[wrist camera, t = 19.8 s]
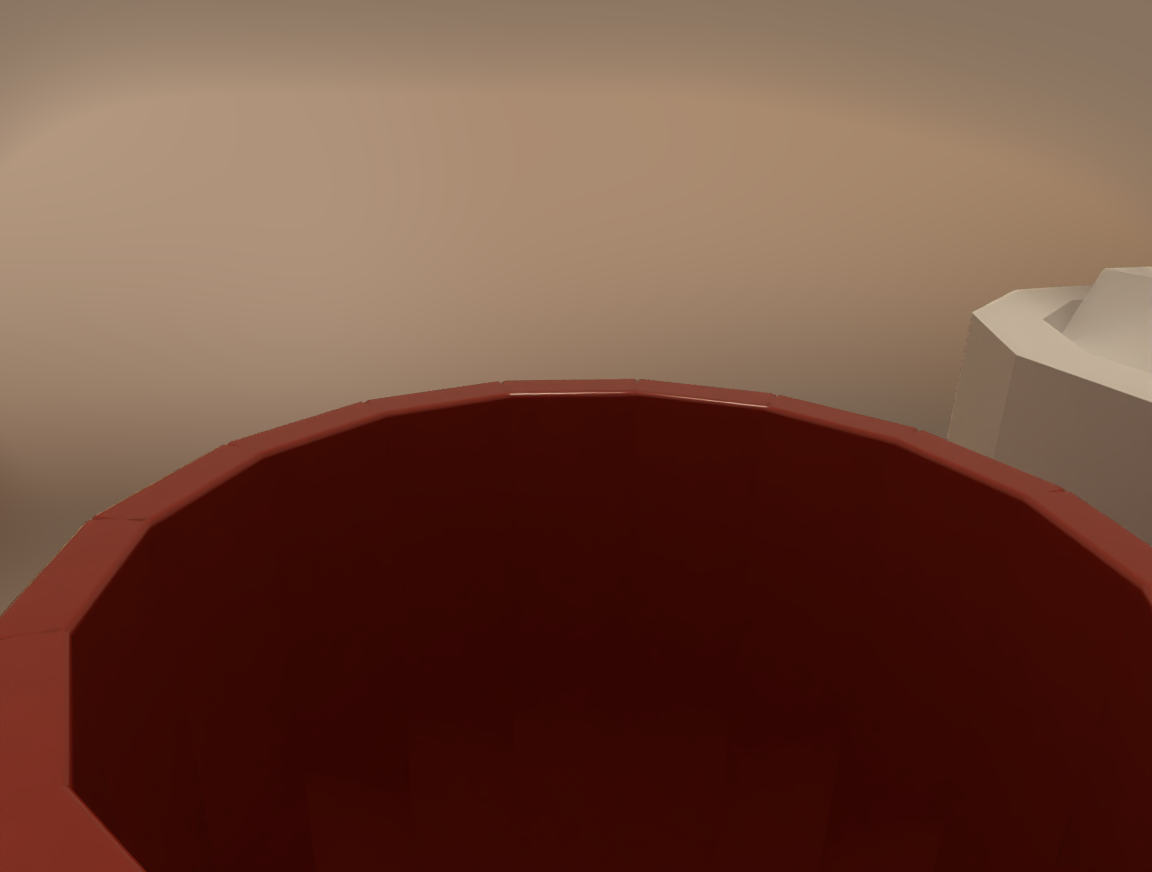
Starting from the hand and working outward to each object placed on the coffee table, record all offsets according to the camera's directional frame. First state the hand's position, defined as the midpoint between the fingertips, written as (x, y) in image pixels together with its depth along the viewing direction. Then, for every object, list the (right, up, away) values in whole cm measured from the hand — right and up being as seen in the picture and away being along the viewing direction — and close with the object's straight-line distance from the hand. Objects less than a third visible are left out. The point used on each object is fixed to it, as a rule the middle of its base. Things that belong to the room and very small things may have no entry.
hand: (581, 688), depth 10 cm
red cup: (0, -7, -1) cm, 7 cm away
